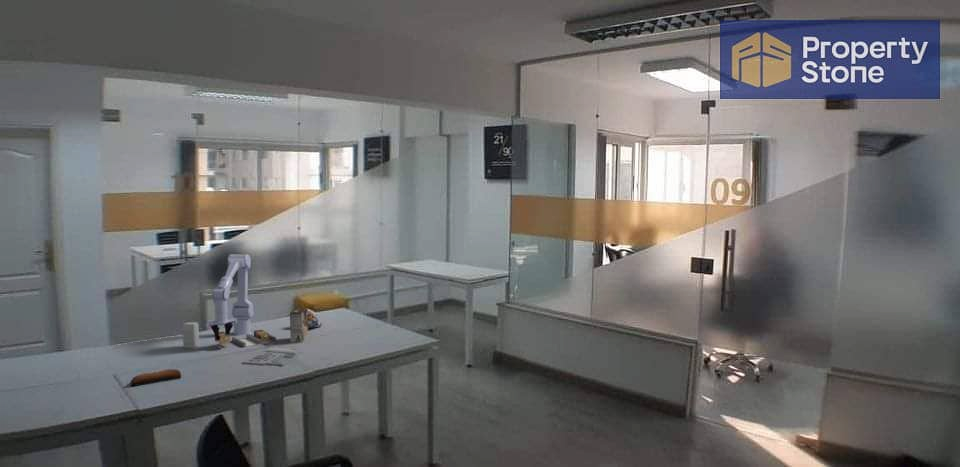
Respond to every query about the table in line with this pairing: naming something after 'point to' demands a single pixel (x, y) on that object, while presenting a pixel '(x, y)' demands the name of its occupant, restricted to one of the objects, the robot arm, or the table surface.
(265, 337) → the cell
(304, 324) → the coffee box
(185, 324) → the skincare box
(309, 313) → the lucky cat figurine
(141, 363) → the table surface
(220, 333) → the copper cell
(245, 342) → the battery board
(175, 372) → the sunglasses case
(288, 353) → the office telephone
